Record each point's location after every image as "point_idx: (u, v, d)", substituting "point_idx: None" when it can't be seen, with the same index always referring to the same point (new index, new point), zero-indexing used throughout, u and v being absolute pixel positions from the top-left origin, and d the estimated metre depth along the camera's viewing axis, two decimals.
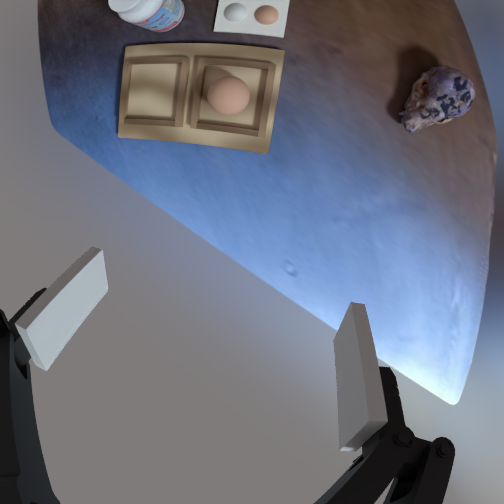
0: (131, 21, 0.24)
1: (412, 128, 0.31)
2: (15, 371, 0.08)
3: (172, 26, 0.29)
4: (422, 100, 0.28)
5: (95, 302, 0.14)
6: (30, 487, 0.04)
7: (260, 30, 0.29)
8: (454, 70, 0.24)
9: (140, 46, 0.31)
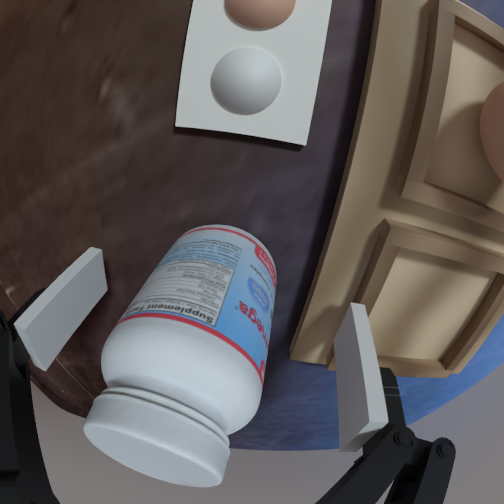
0: None
1: None
2: (14, 371, 0.08)
3: (268, 259, 0.15)
4: None
5: (94, 302, 0.14)
6: (30, 487, 0.04)
7: (314, 16, 0.09)
8: None
9: (303, 333, 0.17)
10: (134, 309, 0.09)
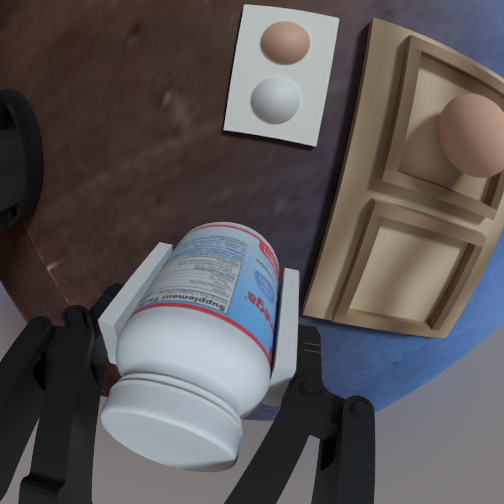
0: None
1: None
2: (87, 375, 0.09)
3: (272, 254, 0.15)
4: None
5: None
6: (70, 498, 0.05)
7: (323, 55, 0.15)
8: None
9: (313, 290, 0.22)
10: (148, 300, 0.10)
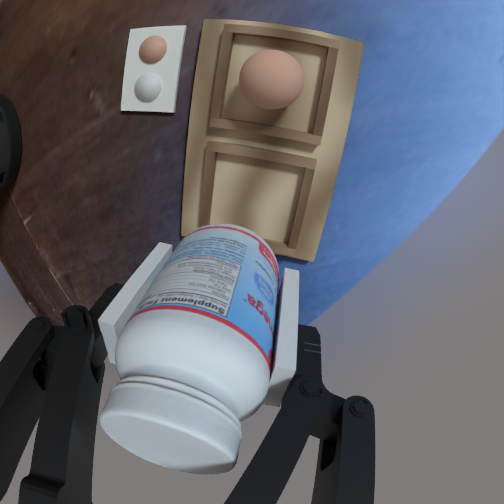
0: None
1: None
2: (87, 375, 0.09)
3: (271, 256, 0.15)
4: None
5: None
6: (70, 498, 0.05)
7: (174, 52, 0.22)
8: None
9: (184, 214, 0.29)
10: (148, 303, 0.10)
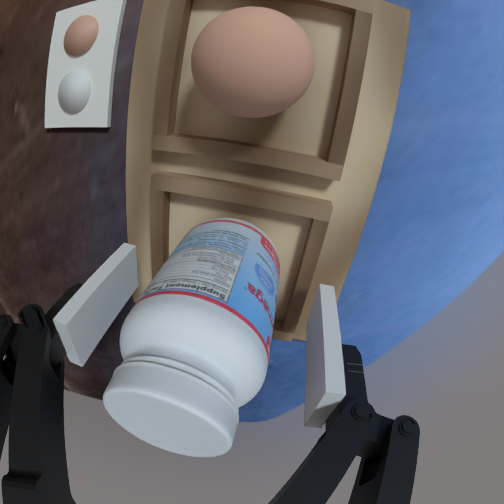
0: None
1: None
2: (48, 371, 0.08)
3: (273, 249, 0.16)
4: None
5: (127, 297, 0.15)
6: (49, 491, 0.04)
7: (108, 36, 0.12)
8: None
9: None
10: (153, 289, 0.11)
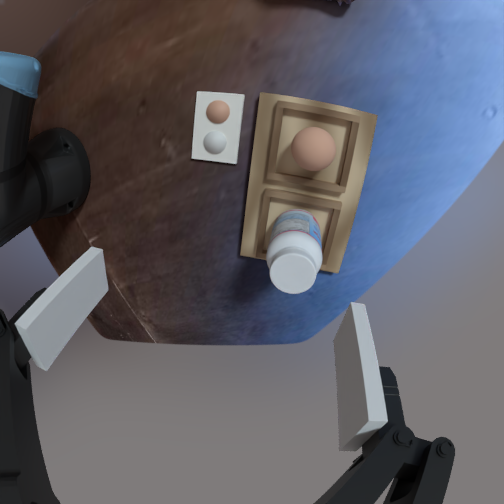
0: (319, 267, 0.31)
1: None
2: (15, 371, 0.08)
3: (317, 222, 0.36)
4: None
5: (95, 302, 0.14)
6: (30, 487, 0.04)
7: (236, 116, 0.33)
8: None
9: (243, 239, 0.41)
10: (282, 231, 0.31)
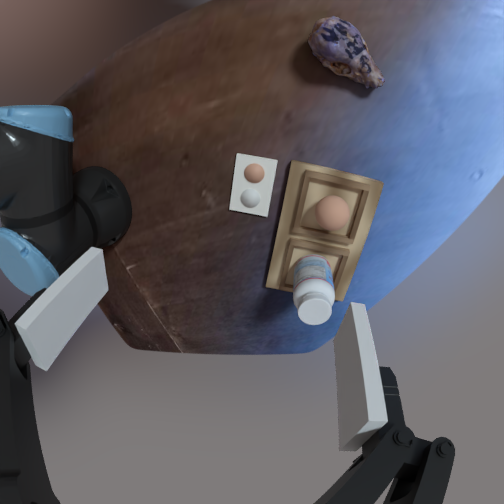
0: None
1: (381, 80, 0.31)
2: (15, 371, 0.08)
3: (329, 265, 0.46)
4: (353, 70, 0.31)
5: (95, 302, 0.14)
6: (30, 487, 0.04)
7: (269, 179, 0.43)
8: (314, 38, 0.29)
9: (269, 275, 0.50)
10: (306, 277, 0.41)
